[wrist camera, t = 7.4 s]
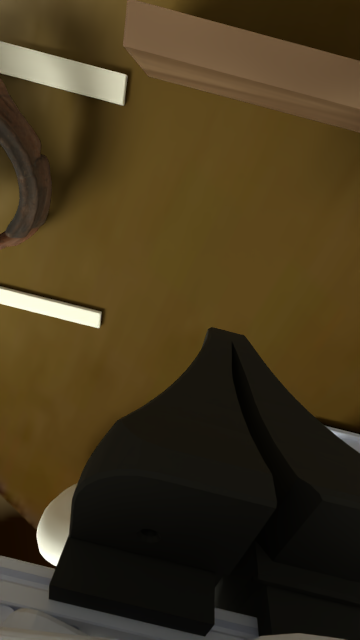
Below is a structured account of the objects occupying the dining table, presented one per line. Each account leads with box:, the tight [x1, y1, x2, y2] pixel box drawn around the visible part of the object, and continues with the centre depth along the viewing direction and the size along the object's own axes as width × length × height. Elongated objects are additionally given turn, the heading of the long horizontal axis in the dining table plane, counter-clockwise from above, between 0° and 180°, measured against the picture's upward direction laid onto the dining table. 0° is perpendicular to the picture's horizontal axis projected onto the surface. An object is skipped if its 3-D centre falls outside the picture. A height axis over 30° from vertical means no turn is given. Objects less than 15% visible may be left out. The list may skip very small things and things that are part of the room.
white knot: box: [37, 483, 78, 566], centre depth 25 cm, size 11×12×9 cm
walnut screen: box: [123, 0, 360, 132], centre depth 12 cm, size 1×11×4 cm, turn 77°
